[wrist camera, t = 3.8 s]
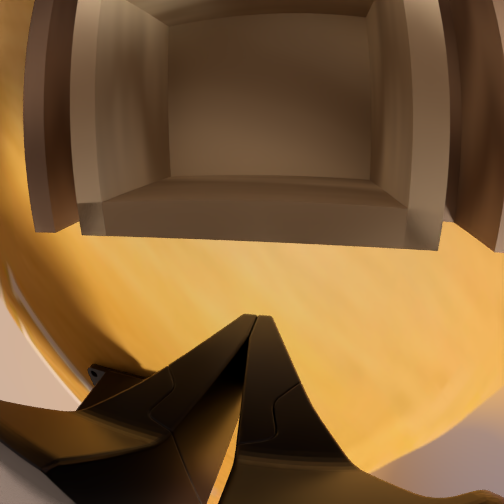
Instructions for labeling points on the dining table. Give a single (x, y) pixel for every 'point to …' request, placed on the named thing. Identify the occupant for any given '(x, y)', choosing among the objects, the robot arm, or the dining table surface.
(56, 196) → the bay
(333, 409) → the dining table surface
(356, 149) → the box
